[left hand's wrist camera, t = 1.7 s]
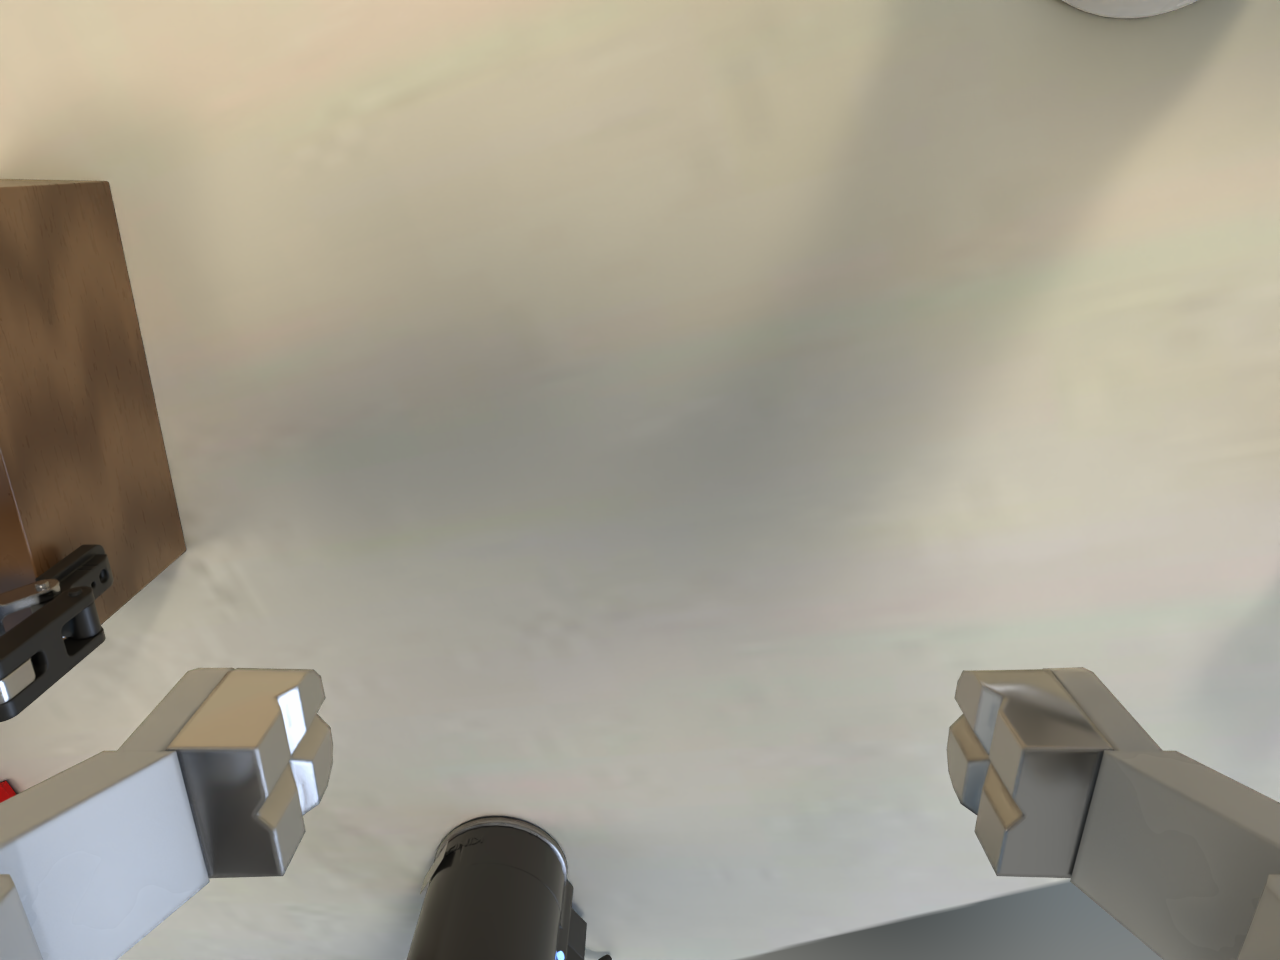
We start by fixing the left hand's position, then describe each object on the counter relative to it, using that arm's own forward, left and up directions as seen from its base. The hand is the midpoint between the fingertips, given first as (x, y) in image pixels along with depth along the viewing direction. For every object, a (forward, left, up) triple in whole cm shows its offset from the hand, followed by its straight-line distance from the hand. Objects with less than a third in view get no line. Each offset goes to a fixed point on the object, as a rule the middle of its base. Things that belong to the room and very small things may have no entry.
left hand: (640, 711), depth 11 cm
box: (+6, -30, -35) cm, 47 cm away
